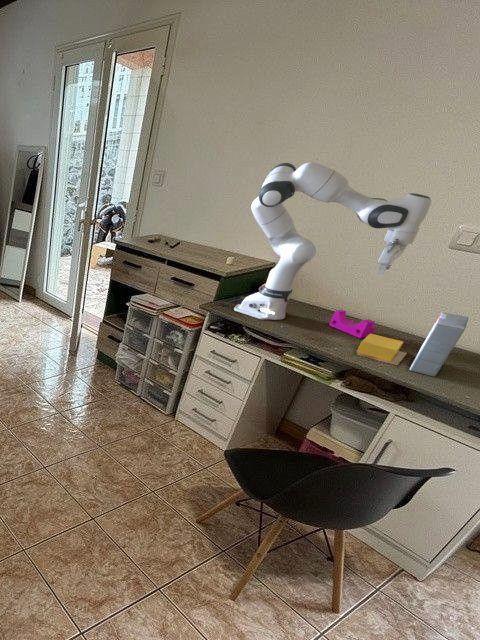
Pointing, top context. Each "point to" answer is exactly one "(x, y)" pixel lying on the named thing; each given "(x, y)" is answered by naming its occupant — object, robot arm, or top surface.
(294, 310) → the top surface
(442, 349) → the hard drive box
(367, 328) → the magenta u-shaped bracket
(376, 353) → the yellow block
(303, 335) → the top surface
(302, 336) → the top surface
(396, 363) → the cork pad
